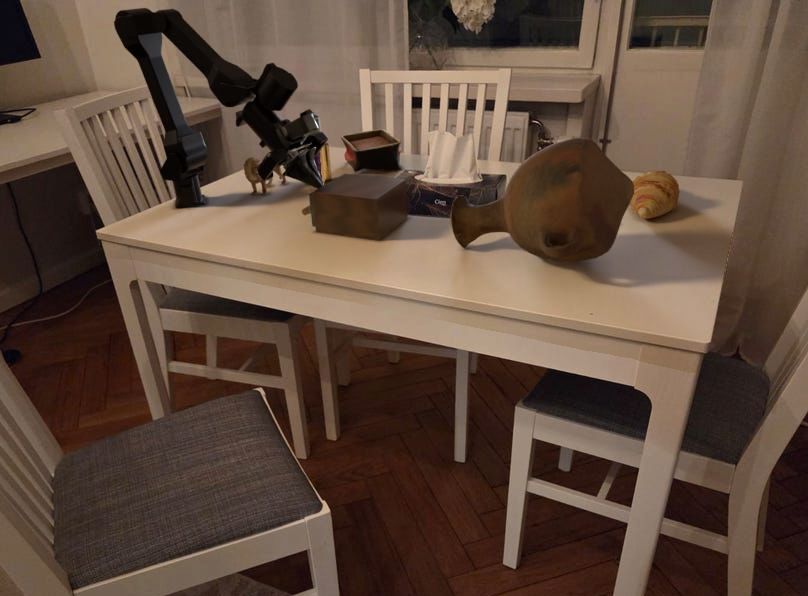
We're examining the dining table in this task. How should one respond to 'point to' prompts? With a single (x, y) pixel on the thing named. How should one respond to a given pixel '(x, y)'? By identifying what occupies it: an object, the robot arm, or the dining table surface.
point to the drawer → (310, 210)
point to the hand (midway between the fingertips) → (322, 187)
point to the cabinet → (360, 206)
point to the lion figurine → (254, 178)
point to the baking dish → (372, 150)
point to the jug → (554, 204)
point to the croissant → (654, 194)
